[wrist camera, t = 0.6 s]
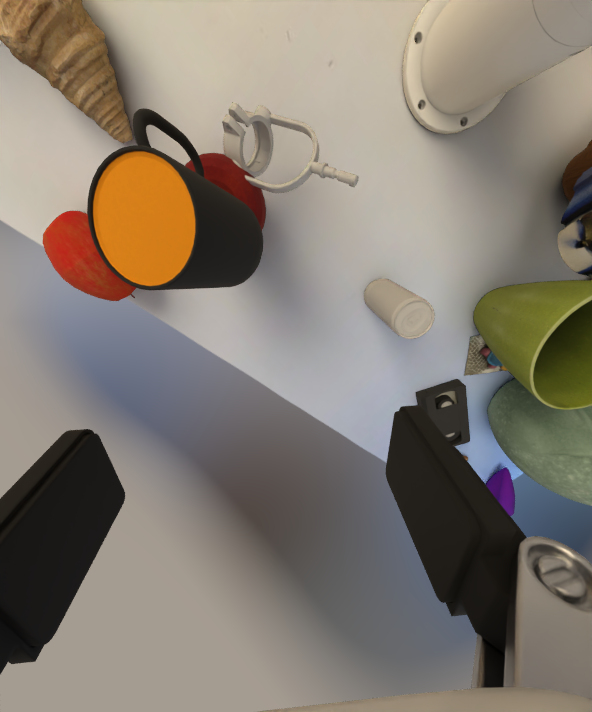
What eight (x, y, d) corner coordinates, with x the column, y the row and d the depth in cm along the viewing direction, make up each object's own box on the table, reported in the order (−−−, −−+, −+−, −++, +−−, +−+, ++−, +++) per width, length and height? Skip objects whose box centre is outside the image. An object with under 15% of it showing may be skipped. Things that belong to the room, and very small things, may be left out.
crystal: (526, 475, 57) (512, 526, 63) (507, 458, 62) (496, 507, 67) (503, 478, 57) (491, 529, 63) (486, 461, 62) (476, 509, 67)
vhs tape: (464, 434, 56) (470, 441, 55) (425, 446, 57) (430, 453, 55) (458, 378, 50) (465, 384, 48) (415, 392, 51) (420, 398, 49)
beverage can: (356, 293, 42) (385, 320, 31) (382, 270, 40) (421, 289, 30) (375, 315, 44) (408, 347, 33) (400, 293, 42) (443, 319, 32)
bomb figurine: (517, 329, 46) (546, 342, 42) (508, 368, 50) (534, 385, 45) (470, 336, 46) (493, 350, 41) (464, 375, 50) (485, 392, 45)
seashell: (140, 134, 35) (176, 89, 31) (107, 167, 31) (143, 121, 26) (3, -17, 26) (25, -113, 22) (-69, 2, 22) (-61, -111, 17)
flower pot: (449, 274, 41) (542, 305, 27) (551, 247, 41) (701, 265, 26) (448, 360, 48) (522, 422, 34) (536, 339, 47) (649, 392, 33)
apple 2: (206, 256, 38) (185, 269, 29) (178, 174, 33) (143, 159, 25) (274, 240, 38) (274, 248, 29) (255, 155, 33) (248, 133, 24)
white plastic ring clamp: (333, 192, 21) (311, 251, 27) (373, 168, 24) (347, 225, 30) (212, 100, 23) (213, 172, 28) (263, 88, 26) (256, 155, 31)
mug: (50, 98, 17) (168, 164, 27) (108, 298, 19) (196, 293, 29) (162, 42, 14) (246, 137, 24) (211, 279, 17) (270, 279, 27)
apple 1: (8, 241, 27) (106, 323, 32) (80, 192, 28) (162, 278, 34) (34, 247, 34) (111, 314, 39) (91, 207, 35) (158, 277, 41)
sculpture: (589, 356, 50) (766, 435, 32) (563, 425, 57) (696, 520, 39) (481, 374, 50) (598, 462, 32) (469, 440, 57) (558, 543, 39)
